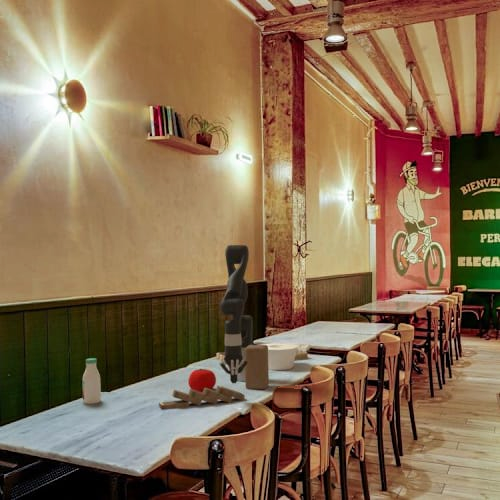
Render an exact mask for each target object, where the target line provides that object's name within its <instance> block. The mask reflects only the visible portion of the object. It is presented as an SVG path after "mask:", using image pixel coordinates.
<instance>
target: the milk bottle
mask: <svg viewBox="0 0 500 500" xmlns="http://www.w3.org/2000/svg"><path fill="white" fill-rule="evenodd" d="M97 361H98V360H97V358H94V357H93V358H87V359H85V371H84V372H83V375H82V403H83V404H88V405H89V404H97V403H100V402H102V401H101V400H102V397H101V395H102V393H101V392H102V388H101V375H100V373H99V370H98V368H97Z"/></svg>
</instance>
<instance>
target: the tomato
mask: <svg viewBox="0 0 500 500" xmlns="http://www.w3.org/2000/svg"><path fill="white" fill-rule="evenodd" d="M187 382H188V385H189V386H188V387H189V388H190V389H192V390H196V391H199V392H202V393H203V390H204V387H205V388H208V389H211V390H213V388H214V387H215V385H216V382H217V377H216V374H215V373H214V372H213V370H210V369H206V368H198V369H195V370H193V371H192V372H191V373H190V375H189V377H188V381H187Z"/></svg>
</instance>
